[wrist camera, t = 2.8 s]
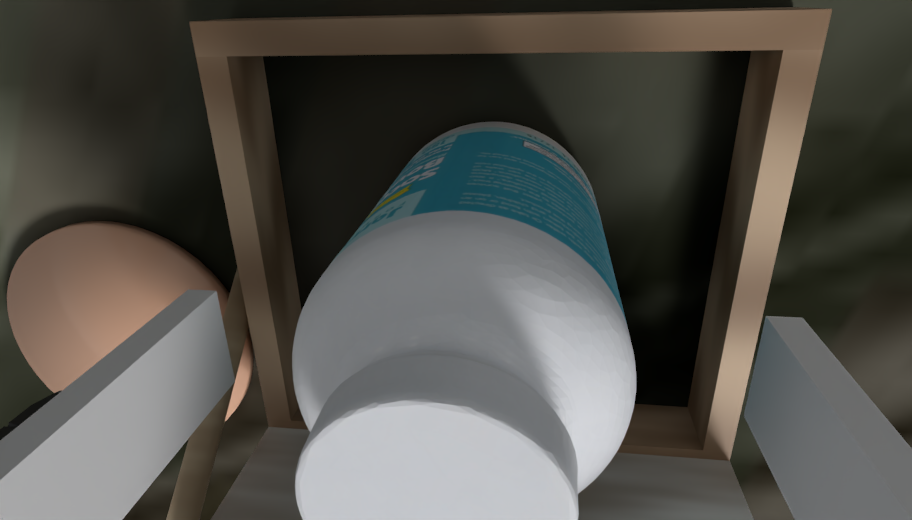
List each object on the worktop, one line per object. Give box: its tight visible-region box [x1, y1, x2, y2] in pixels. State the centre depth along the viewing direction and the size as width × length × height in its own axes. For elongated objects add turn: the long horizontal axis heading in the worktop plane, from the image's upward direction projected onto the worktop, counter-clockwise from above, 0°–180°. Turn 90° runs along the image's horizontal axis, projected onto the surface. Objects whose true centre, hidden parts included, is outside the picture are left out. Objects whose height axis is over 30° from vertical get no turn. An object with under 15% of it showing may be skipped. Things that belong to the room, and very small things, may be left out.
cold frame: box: [166, 7, 832, 520], centre depth 14 cm, size 16×19×17 cm
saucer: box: [7, 221, 253, 439], centre depth 26 cm, size 11×11×1 cm
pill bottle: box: [292, 122, 636, 520], centre depth 15 cm, size 8×7×14 cm
